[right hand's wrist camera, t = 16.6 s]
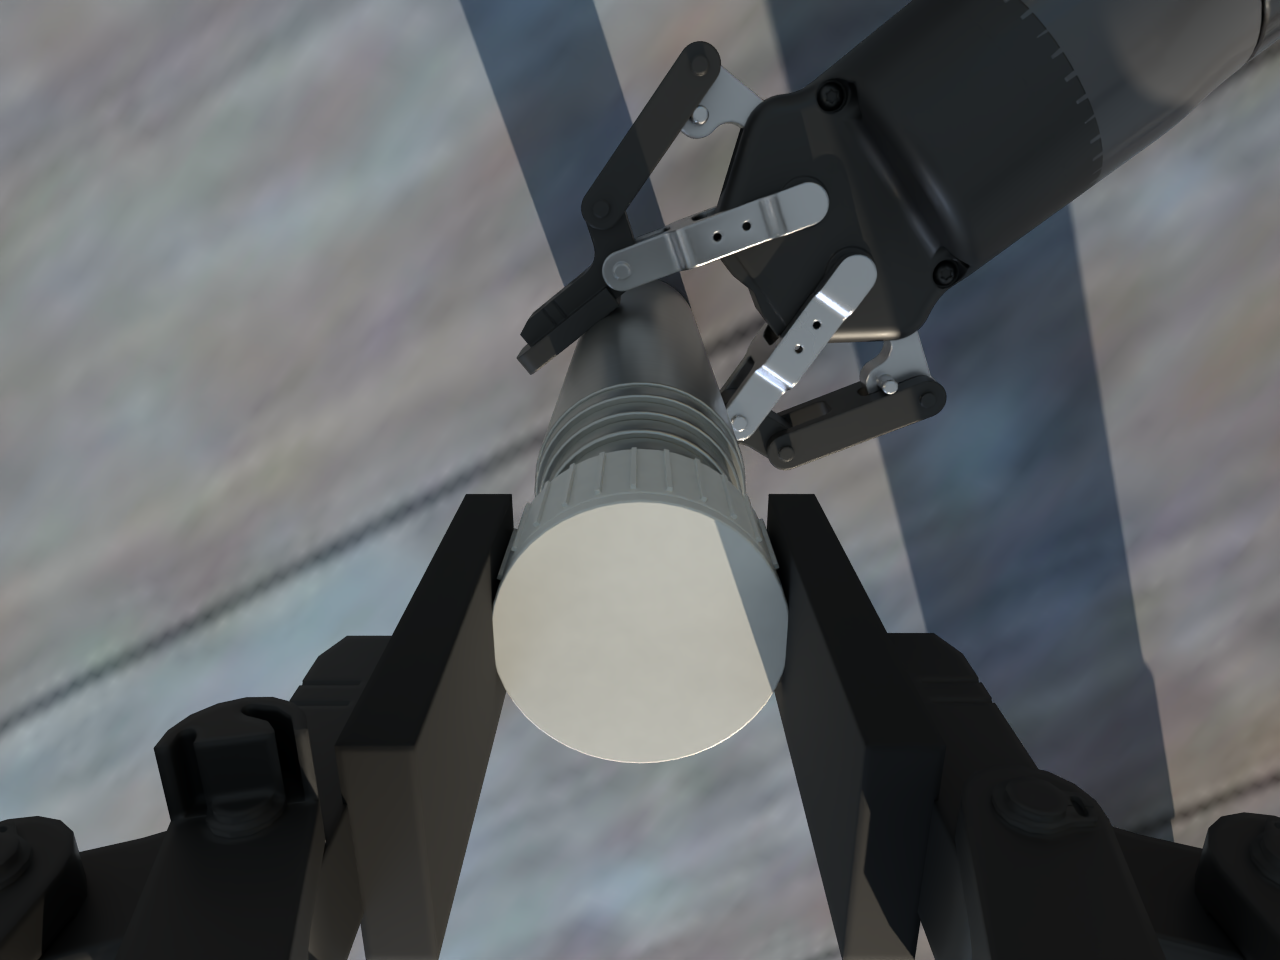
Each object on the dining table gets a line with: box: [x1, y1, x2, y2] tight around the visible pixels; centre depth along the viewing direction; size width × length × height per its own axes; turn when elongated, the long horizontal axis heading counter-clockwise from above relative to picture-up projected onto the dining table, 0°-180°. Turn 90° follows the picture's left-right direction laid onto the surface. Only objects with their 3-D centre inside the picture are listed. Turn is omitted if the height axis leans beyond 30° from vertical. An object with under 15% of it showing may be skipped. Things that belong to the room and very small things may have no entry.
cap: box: [492, 447, 788, 763], centre depth 13 cm, size 4×4×2 cm
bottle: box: [535, 280, 746, 497], centre depth 24 cm, size 4×4×23 cm
